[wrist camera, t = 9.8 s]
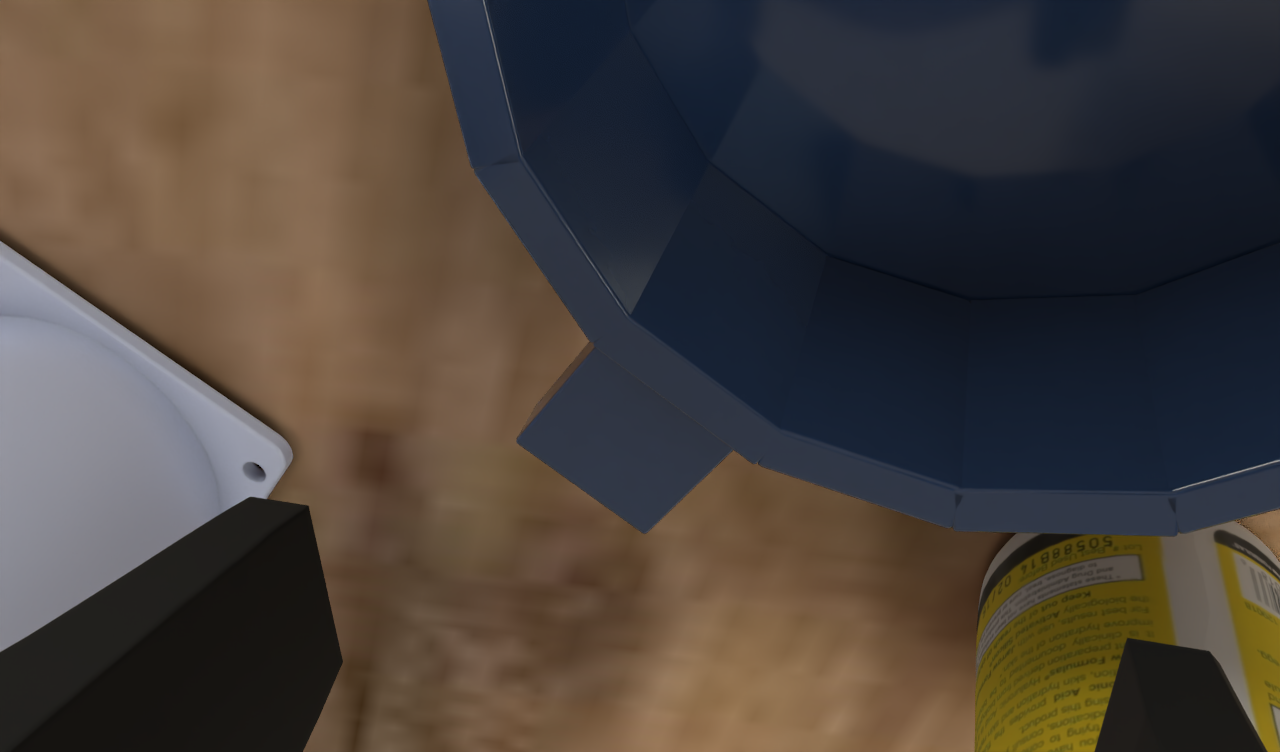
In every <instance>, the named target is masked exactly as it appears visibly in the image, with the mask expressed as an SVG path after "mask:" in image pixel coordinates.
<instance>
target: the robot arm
mask: <svg viewBox="0 0 1280 752" xmlns="http://www.w3.org/2000/svg"><path fill="white" fill-rule="evenodd" d="M292 459H293V453H292V449H291V447H290V445H289V444H288V442H287V441H286V440H285V439H284V438H283V437H282V436H281V435H279V434H278V433H277V432H275V431H274V430H272V429H271V428H269V427H268V426H266V425H265V424H264V423H262V422H261V421H259V420H258V419H256V418H255V417H253V416H252V415H251V414H249V413H248V412H246V411H245V410H243V409H242V408H240V407H239V406H238V405H236V404H235V403H233V402H232V401H230V400H229V399H228V398H226V397H225V396H223V395H222V394H220V393H219V392H217V391H216V390H215V389H213V388H212V387H210V386H209V385H207V384H206V383H204V382H203V381H202V380H200V379H199V378H197V377H196V376H194V375H193V374H191V373H190V372H189V371H187V370H186V369H184V368H183V367H181V366H180V365H178V364H177V363H176V362H174V361H173V360H171V359H170V358H168V357H167V356H166V355H164V354H163V353H161V352H160V351H158V350H157V349H155V348H154V347H153V346H151V345H150V344H148V343H147V342H145V341H144V340H142V339H141V338H140V337H138V336H137V335H135V334H134V333H132V332H131V331H129V330H128V329H127V328H125V327H124V326H122V325H121V324H119V323H118V322H117V321H115V320H114V319H112V318H111V317H109V316H108V315H106V314H105V313H104V312H102V311H101V310H99V309H98V308H96V307H95V306H93V305H92V304H91V303H89V302H88V301H86V300H85V299H83V298H82V297H80V296H79V295H78V294H76V293H75V292H73V291H72V290H70V289H69V288H68V287H66V286H65V285H63V284H62V283H60V282H59V281H57V280H56V279H55V278H53V277H52V276H50V275H49V274H47V273H46V272H44V271H43V270H42V269H40V268H39V267H37V266H36V265H34V264H33V263H31V262H30V261H29V260H27V259H26V258H24V257H23V256H21V255H20V254H19V253H17V252H16V251H14V250H13V249H11V248H10V247H8V246H7V245H6V244H4V243H3V242H1V241H0V752H303V750H304V748H305V746H306V744H307V741H308V739H309V737H310V735H311V733H312V731H313V729H314V727H315V724H316V722H317V720H318V718H319V716H320V714H321V711H322V709H323V707H324V704H325V702H326V700H327V697H328V695H329V693H330V691H331V688H332V686H333V684H334V681H335V679H336V677H337V674H338V672H339V670H340V667H341V665H342V663H343V660H342V656H341V651H340V647H339V642H338V638H337V633H336V629H335V624H334V620H333V615H332V611H331V606H330V601H329V597H328V592H327V588H326V583H325V579H324V574H323V570H322V565H321V561H320V556H319V552H318V547H317V542H316V538H315V533H314V529H313V524H312V520H311V515H310V511H309V506H307V505H300V504H294V503H288V502H282V501H276V500H269V499H267V498H268V496H269V495H270V493H271V492H272V490H273V489H274V487H275V486H276V484H277V483H278V481H279V480H280V479H281V477H282V476H283V474H284V473H285V471H286V470H287V468H288V467H289V465H290V464H291V462H292ZM254 463H256V464H258V465H259V466H260V467H261V468H262V469H263V470H262V469H260V468H258V467H257V466H256V465H255V464H254ZM1094 752H1268V751H1267V750H1266V748H1265V746H1264V744H1263V742H1262V741H1261V739H1260V737H1259V735H1258V734H1257V732H1256V730H1255V728H1254V726H1253V724H1252V723H1251V721H1250V719H1249V717H1248V715H1247V714H1246V712H1245V710H1244V708H1243V706H1242V704H1241V702H1240V700H1239V699H1238V697H1237V695H1236V693H1235V691H1234V689H1233V687H1232V685H1231V684H1230V682H1229V680H1228V678H1227V676H1226V674H1225V672H1224V670H1223V668H1222V666H1221V664H1220V663H1219V662H1218V661H1217V660H1216V658H1215V657H1214V656H1213V655H1212V654H1211V652H1210V651H1207V650H1200V649H1194V648H1188V647H1182V646H1176V645H1169V644H1163V643H1157V642H1151V641H1145V640H1138V639H1132V638H1127V639H1126V643H1125V646H1124V650H1123V653H1122V657H1121V660H1120V664H1119V667H1118V671H1117V674H1116V678H1115V681H1114V685H1113V688H1112V692H1111V695H1110V699H1109V702H1108V706H1107V709H1106V713H1105V716H1104V720H1103V723H1102V727H1101V730H1100V734H1099V737H1098V741H1097V744H1096V748H1095V751H1094Z"/></svg>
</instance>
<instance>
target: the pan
mask: <svg viewBox="0 0 1280 752" xmlns="http://www.w3.org/2000/svg"><path fill="white" fill-rule="evenodd" d="M427 1H428V5H429V8H430V12H431V16H432V20H433V24H434V28H435V31H436V35H437V39H438V43H439V47H440V51H441V54H442V58H443V62H444V66H445V70H446V73H447V77H448V81H449V85H450V89H451V93H452V96H453V100H454V104H455V108H456V112H457V116H458V119H459V123H460V127H461V131H462V135H463V138H464V142H465V146H466V150H467V154H468V158H469V161H470V165H471V167H472V168H473V169H474V173H475V175H476V176H477V178H478V179H479V181H480V182H481V184H482V185H483V186H484V188H485V189H486V191H487V192H488V194H489V195H490V197H491V198H492V200H493V201H494V203H495V204H496V205H497V207H498V208H499V210H500V211H501V213H502V214H503V216H504V217H505V219H506V220H507V222H508V223H509V224H510V226H511V227H512V229H513V230H514V232H515V233H516V235H517V236H518V238H519V239H520V240H521V242H522V243H523V245H524V246H525V248H526V249H527V251H528V252H529V254H530V255H531V257H532V258H533V259H534V261H535V262H536V264H537V265H538V267H539V268H540V270H541V271H542V273H543V274H544V276H545V277H546V278H547V280H548V281H549V283H550V284H551V286H552V287H553V289H554V290H555V292H556V293H557V295H558V296H559V297H560V299H561V300H562V302H563V303H564V305H565V306H566V308H567V309H568V311H569V312H570V314H571V315H572V316H573V318H574V319H575V321H576V322H577V324H578V325H579V327H580V328H581V330H582V331H583V332H584V334H585V335H586V337H587V338H588V340H589V341H590V342H589V343H588V344H587V345H586V346H585V347H584V349H583V350H582V351H581V352H580V353H579V355H578V356H577V357H576V358H575V359H574V361H573V362H572V363H571V364H570V365H569V366H568V368H567V369H566V370H565V371H564V372H563V374H562V375H561V376H560V377H559V378H558V380H557V381H556V382H555V383H554V384H553V385H552V387H551V388H550V389H549V390H548V391H547V393H546V394H545V395H544V396H543V397H542V399H541V400H540V401H539V402H538V403H537V404H536V406H535V408H534V409H533V411H532V413H531V415H530V416H529V418H528V420H527V421H526V423H525V425H524V427H523V428H522V430H521V432H520V434H519V435H518V437H517V440H516V442H517V443H518V444H519V445H520V446H522V447H523V448H524V449H526V450H527V451H529V452H530V453H531V454H533V455H534V456H536V457H537V458H538V459H540V460H541V461H542V462H544V463H545V464H547V465H548V466H549V467H551V468H552V469H554V470H555V471H556V472H558V473H559V474H561V475H562V476H563V477H565V478H566V479H568V480H569V481H570V482H572V483H573V484H575V485H576V486H577V487H579V488H580V489H582V490H583V491H584V492H586V493H587V494H589V495H590V496H591V497H593V498H594V499H596V500H597V501H598V502H600V503H601V504H602V505H604V506H605V507H607V508H608V509H609V510H611V511H612V512H614V513H615V514H616V515H618V516H619V517H621V518H622V519H623V520H625V521H626V522H628V523H629V524H630V525H632V526H633V527H635V528H636V529H637V530H639V531H640V532H642V533H644V534H646V533H648V532H649V531H650V530H651V529H652V528H653V527H654V526H655V525H656V524H657V523H658V522H659V521H660V520H661V519H662V518H663V517H664V516H665V515H666V514H668V513H669V512H670V511H671V510H672V509H673V508H674V507H675V506H676V505H677V504H678V503H679V502H680V501H681V500H682V499H683V498H684V497H685V496H686V495H687V494H688V493H689V492H690V491H691V490H692V489H694V488H695V487H696V486H697V485H698V484H699V483H700V482H701V481H702V480H703V479H704V478H705V477H706V476H707V475H708V474H709V473H710V472H711V471H712V470H713V469H714V468H715V467H716V466H717V465H718V464H720V463H721V462H722V461H723V460H724V459H725V458H726V457H727V456H728V455H729V454H730V453H731V452H732V451H733V450H734V451H736V452H737V453H739V454H740V455H741V456H743V457H744V458H745V459H747V460H748V461H749V462H751V463H752V464H756V463H758V465H760V466H761V467H764V468H767V469H770V470H773V471H776V472H779V473H782V474H785V475H788V476H791V477H794V478H797V479H800V480H803V481H806V482H809V483H812V484H815V485H818V486H821V487H824V488H827V489H830V490H833V491H836V492H839V493H842V494H845V495H848V496H851V497H854V498H857V499H860V500H863V501H866V502H869V503H872V504H875V505H878V506H881V507H884V508H887V509H890V510H893V511H896V512H899V513H902V514H905V515H908V516H911V517H914V518H917V519H920V520H923V521H926V522H929V523H932V524H935V525H938V526H941V527H944V528H952V527H953V529H954V531H959V532H999V533H1039V534H1080V535H1120V536H1161V537H1175V536H1177V534H1178V533H1180V534H1187V533H1191V532H1195V531H1198V530H1202V529H1206V528H1210V527H1213V526H1217V525H1221V524H1225V523H1228V522H1232V521H1236V520H1240V519H1243V518H1247V517H1251V516H1255V515H1258V514H1262V513H1266V512H1270V511H1274V510H1277V509H1280V0H427Z"/></svg>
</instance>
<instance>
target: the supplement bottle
mask: <svg viewBox="0 0 1280 752" xmlns="http://www.w3.org/2000/svg"><path fill="white" fill-rule="evenodd" d="M1127 638H1132V639H1138V640H1145V641H1151V642H1157V643H1163V644H1169V645H1176V646H1182V647H1188V648H1194V649H1200V650H1207V651H1210V652H1211V654H1212V655H1213V656H1214V657H1215V658H1216V660H1217V661H1218V662H1219V663H1220V664H1221V666H1222V668H1223V670H1224V672H1225V674H1226V676H1227V678H1228V680H1229V682H1230V684H1231V685H1232V687H1233V689H1234V691H1235V693H1236V695H1237V697H1238V699H1239V700H1240V702H1241V704H1242V706H1243V708H1244V710H1245V712H1246V714H1247V715H1248V717H1249V719H1250V721H1251V723H1252V724H1253V726H1254V728H1255V730H1256V732H1257V734H1258V735H1259V737H1260V739H1261V741H1262V742H1263V744H1264V746H1265V748H1266V750H1267V751H1268V752H1280V562H1279V561H1278V559H1277V558H1276V557H1275V555H1274V554H1273V553H1272V551H1271V550H1270V549H1269V548H1268V547H1267V546H1266V545H1265V544H1264V543H1263V542H1262V541H1261V540H1260V539H1259V538H1258V537H1256V536H1255V535H1254V534H1253V533H1252V532H1250V531H1249V530H1248V529H1246V528H1245V527H1243V526H1242V525H1240V524H1238V523H1237V522H1235V521H1232V522H1228V523H1225V524H1221V525H1217V526H1213V527H1210V528H1206V529H1202V530H1198V531H1195V532H1191V533H1187V534H1180V533H1178V534H1177V536H1175V537H1161V536H1120V535H1080V534H1039V533H1017V534H1015V535H1014V536H1013V537H1012V538H1011V539H1010V540H1009V541H1008V542H1007V543H1006V544H1005V545H1004V546H1003V547H1002V549H1001V550H1000V551H999V552H998V554H997V555H996V557H995V558H994V560H993V561H992V563H991V564H990V566H989V569H988V571H987V573H986V575H985V578H984V581H983V585H982V588H981V594H980V600H979V609H978V621H977V640H976V691H975V752H1094V751H1095V748H1096V744H1097V741H1098V737H1099V734H1100V730H1101V727H1102V723H1103V720H1104V716H1105V713H1106V709H1107V706H1108V702H1109V699H1110V695H1111V692H1112V688H1113V685H1114V681H1115V678H1116V674H1117V671H1118V667H1119V664H1120V660H1121V657H1122V653H1123V650H1124V646H1125V643H1126V639H1127Z"/></svg>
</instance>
